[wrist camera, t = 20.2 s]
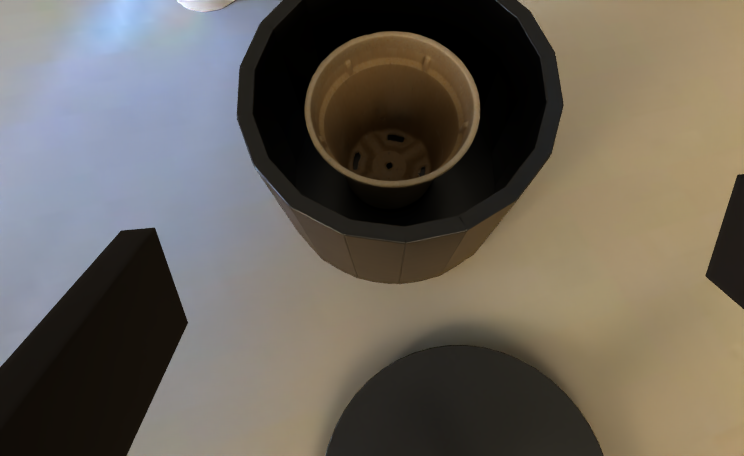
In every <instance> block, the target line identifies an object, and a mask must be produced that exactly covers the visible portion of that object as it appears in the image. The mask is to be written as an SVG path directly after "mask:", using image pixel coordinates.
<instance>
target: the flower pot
mask: <svg viewBox="0 0 744 456" xmlns="http://www.w3.org/2000/svg"><path fill="white" fill-rule="evenodd" d="M304 111H305V121H306V126H307V130H308V133H309V135H310V138H311V140H312V142H313V144H314V146H315V148H316V149H317V151H318V152H319V154H320V155H321V156H322V157H323V159H324V160H325V161H326V162H327V163H328V164H329V165H330V166H332V167H333V168H334V169H335V170H337V171H338V172H339V173H341V174H343V175H344V177H345V178H346V180H347V182H348V184H349V186H350V188H351V190H352V191H353V192H354V193H355V194H356V195H357V196H358V197H359V198H360V199H361V200H362V201H364V202H365V203H367V204H369V205H371V206H374V207H377V208H382V209H397V208H402V207H405V206H407V205H409V204H411V203H413V202H415V201H416V200H418V199H419V198H420V197H421V196H422V195H423V194H424V193H425V192H426V191H427V189H428V188H429V186H430V185H431V183H432V182H433V180H434V179H435V178H437V177H439V176H441V175H443V174H444V173H446V172H447V171H448V170H450V169H451V168H452V167H453V166H454V165H455V164H456V163H457V162H458V161H459V160H460V159H461V158H462V157H463V156H464V154H465V153H466V152H467V150H468V149H469V147H470V145H471V144H472V142H473V140H474V137H475V135H476V132H477V129H478V125H479V120H480V100H479V93H478V90H477V87H476V84H475V82H474V79H473V78H472V75H471V74H470V72H469V70H468V69H467V68H466V66H465V65H464V64H463V62H462V61H461V60H460V59H459V58H458V57H457V56H456V55H455V54H454V53H453V52H451V51H450V50H449V49H447V48H446V47H444V46H443V45H441V44H440V43H438V42H436V41H434V40H432V39H429V38H427V37H424V36H422V35H418V34H414V33H409V32H399V31H384V32H377V33H373V34H369V35H364V36H360V37H357V38H354V39H352V40H350V41H348V42H346V43H345V44H343V45H341V46H340V47H338V48H337V49H335V50H334V51H333V52H332V53H330V54H329V56H327V57H326V58H325V59H324V60H323V61H322V63H321V64H320V65H319V67H318V68H317V70H316V72H315V74H314V75H313V76H312V79H311V82H310V84H309V87H308V89H307V93H306V98H305V109H304ZM388 135H396V136H398V137H402V138H404V141H403V142H397V141H393V140H388V138H387V137H388ZM357 153H359V154H360V156H361V157H360V160H359V162H358V168H357V169H356V170H354V166H353V162H354V156H355V154H357ZM388 163H391V164H392V168H390V169H388V168H387V167H386V165H387V164H388ZM422 167H425V173H424V176H421V177H420V175H419V174H418V173H420V172H421V168H422Z"/></svg>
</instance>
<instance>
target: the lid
mask: <svg viewBox="0 0 744 456" xmlns="http://www.w3.org/2000/svg"><path fill="white" fill-rule="evenodd" d="M325 456H603V453H602V450H601V448H600V445H599V443H598V441H597V439H596V437H595V435H594V433H593V431H592V429H591V427H590V425H589V424H588V422H587V421H586V419H585V418H584V416H583V415H582V413H581V412H580V410H579V409H578V408H577V407H576V405H575V404H574V403H573V402H572V401H571V399H570V398H569V397H568V396H567V395H566V394H565V393H564V392H563V391H562V390H561V389H560V388H559V387H558V386H557V385H556V384H555V383H554V382H553V381H552V380H550V379H549V378H548V377H546V376H545V375H544V374H542V373H541V372H539V371H538V370H537V369H535V368H534V367H532V366H530V365H528V364H527V363H525V362H523V361H521V360H519V359H517V358H515V357H512V356H510V355H507V354H505V353H502V352H499V351H495V350H491V349H488V348H484V347H476V346H468V345H448V346H441V347H434V348H429V349H425V350H422V351H418V352H415V353H412V354H410V355H408V356H406V357H403V358H401V359H399V360H397V361H395V362H394V363H392V364H390V365H389V366H387V367H385V368H384V369H382V370H381V371H380V372H379V373H377V374H376V375H375V376H374V377H372V378H371V379H370V380H369V381H368V382H367V383H366V384H365V385H364V386H363V387H362V388H361V389H360V390H359V391H358V392H357V394H356V395H355V396H354V398H353V399H352V400H351V402H350V403H349V404H348V406H347V407H346V409H345V410H344V412H343V414H342V416H341V417H340V419H339V421H338V423H337V425H336V427H335V429H334V432H333V434H332V437H331V439H330V442H329V444H328V448H327V452H326V455H325Z"/></svg>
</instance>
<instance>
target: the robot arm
mask: <svg viewBox="0 0 744 456" xmlns="http://www.w3.org/2000/svg"><path fill="white" fill-rule="evenodd" d="M706 277H707V278H708V279H709V280H710V281H712V282H713V283H714V284H715V285H716V286H717V287H719V288H720V289H721V290H722V291H723V292H724V293H726V294H727V295H728V296H729V297H730V298H731V299H733V300H734V301H735V302H736V303H737V304H738V305H739V306H741V307H742V308H743V309H744V174H741V175H737V178H736V181H735V184H734V188H733V191H732V194H731V197H730V200H729V203H728V207H727V210H726V213H725V216H724V219H723V222H722V225H721V229H720V232H719V235H718V238H717V241H716V244H715V247H714V251H713V254H712V257H711V260H710V263H709V266H708V269H707V273H706ZM187 324H188V321H187V318H186V316H185V313H184V310H183V307H182V304H181V301H180V298H179V295H178V293H177V290H176V287H175V284H174V281H173V278H172V275H171V273H170V270H169V267H168V264H167V261H166V258H165V255H164V252H163V250H162V247H161V244H160V241H159V238H158V235H157V232H156V229H155V228H146V229H135V230H124V231H120V232H119V234H118V235H117V236H116V237H115V238H114V239H113V240H112V242H111V243H110V244H109V245H108V246H107V247H106V248H105V249H104V251H103V252H102V253H101V254H100V255H99V256H98V257H97V259H96V260H95V261H94V262H93V263H92V264H91V265H90V266H89V268H88V269H87V270H86V271H85V272H84V273H83V274H82V276H81V277H80V278H79V279H78V280H77V281H76V282H75V283H74V285H73V286H72V287H71V288H70V289H69V290H68V291H67V293H66V294H65V295H64V296H63V297H62V298H61V299H60V300H59V302H58V303H57V304H56V305H55V306H54V307H53V308H52V309H51V311H50V312H49V313H48V314H47V315H46V316H45V317H44V319H43V320H42V321H41V322H40V323H39V324H38V325H37V326H36V328H35V329H34V330H33V331H32V332H31V333H30V334H29V336H28V337H27V338H26V339H25V340H24V341H23V342H22V343H21V345H20V346H19V347H18V348H17V349H16V350H15V351H14V353H13V354H12V355H11V356H10V357H9V358H8V359H7V360H6V362H5V363H4V364H3V365H2V366H1V367H0V456H127V453H128V451H129V449H130V447H131V445H132V443H133V440H134V438H135V436H136V434H137V432H138V430H139V427H140V425H141V423H142V421H143V419H144V417H145V414H146V412H147V410H148V408H149V406H150V404H151V401H152V399H153V397H154V395H155V393H156V391H157V388H158V386H159V384H160V382H161V380H162V378H163V376H164V373H165V371H166V369H167V367H168V365H169V363H170V360H171V358H172V356H173V354H174V352H175V350H176V347H177V345H178V343H179V341H180V339H181V337H182V334H183V332H184V330H185V328H186V326H187Z"/></svg>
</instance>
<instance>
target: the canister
mask: <svg viewBox="0 0 744 456" xmlns="http://www.w3.org/2000/svg"><path fill="white" fill-rule="evenodd" d="M384 31H399V32H409V33H414V34H418V35H422V36H424V37H427V38H429V39H432V40H434V41H436V42H438V43H440V44H441V45H443V46H444V47H446V48H447V49H449V50H450V51H451V52H453V53H454V54H455V55H456V56H457V57H458V58H459V59H460V60H461V61H462V62H463V64H464V65H465V66H466V68H467V69H468V70H469V72H470V74H471V75H472V78H473V79H474V82H475V84H476V87H477V90H478V93H479V100H480V120H479V125H478V129H477V132H476V135H475V137H474V140H473V142H472V144H471V145H470V147H469V149H468V150H467V152H466V153H465V154H464V156H463V157H462V158H461V159H460V160H459V161H458V162H457V163H456V164H455V165H454V166H453V167H452V168H451V169H450V170H448V171H447V172H446V173H444V174H443V175H441V176H439V177H437V178H435V179H434V180H433V182H432V183H431V185H430V186H429V188H428V189H427V191H426V192H425V193H424V194H423V195H422V196H421V197H420V198H419V199H418V200H416V201H415V202H413V203H411V204H409V205H407V206H405V207H402V208H397V209H382V208H377V207H374V206H371V205H369V204H367V203H365V202H364V201H362V200H361V199H360V198H359V197H358V196H357V195H356V194H355V193H354V192H353V191H352V190H351V188H350V186H349V184H348V182H347V180H346V178H345V177H344V175H343V174H341V173H339V172H338V171H337V170H335V169H334V168H333V167H332V166H330V165H329V164H328V163H327V162H326V161H325V160H324V159H323V157H322V156H321V155H320V154H319V152H318V151H317V149H316V148H315V146H314V144H313V142H312V140H311V138H310V135H309V133H308V130H307V126H306V121H305V111H304V109H305V98H306V93H307V89H308V87H309V84H310V82H311V79H312V76H313V75H314V74H315V72H316V70H317V68H318V67H319V65H320V64H321V63H322V61H323V60H324V59H325V58H326V57H327V56H329V54H330V53H332V52H333V51H334V50H335V49H337V48H338V47H340V46H341V45H343V44H345V43H346V42H348V41H350V40H352V39H354V38H357V37H360V36H364V35H369V34H373V33H377V32H384ZM563 106H564V105H563V98H562V92H561V86H560V79H559V73H558V67H557V61H556V56H555V52H554V50H553V48H552V47H551V45H550V43H549V42H548V40H547V38H546V37H545V35H544V33H543V32H542V30H541V28H540V27H539V25H538V23H537V22H536V20H535V18H534V17H533V15H532V13H531V12H530V11H529V10H528V9H527V8H526V7H525V6H523V5H522V4H521V3H520V2H518V1H517V0H283V1H282V2H281V3H280V4H279V5H278V6H277V7H276V8H275V9H274V10H273V11H272V12H271V13H270V14H269V15H268V16H267V17H266V18H265V19H264V20H263V21H262V22H261V24H260V25H259V27H258V29H257V31H256V33H255V35H254V38H253V40H252V42H251V44H250V46H249V48H248V50H247V53H246V55H245V57H244V59H243V61H242V63H241V65H240V70H239V87H238V104H237V120H238V123H239V126H240V129H241V132H242V134H243V137H244V140H245V143H246V146H247V149H248V152H249V154H250V157H251V160H252V163H253V165H254V167H255V169H256V170H257V172H258V173H259V175H260V176H261V178H262V179H263V181H264V182H265V184H266V185H267V187H268V188H269V190H270V191H271V193H272V194H273V196H274V197H275V199H276V200H277V202H278V203H279V205H280V206H281V207H282V209H283V210H284V212H285V213H286V215H287V216H288V218H289V219H290V221H291V222H292V224H293V225H294V227H295V228H296V230H297V231H298V232H299V234H300V235H301V236H302V237H303V238H304V239H305V240H306V242H307V243H308V244H309V245H310V247H311V248H312V249H313V250H314V251H315V252H316V253H317V254H318V255H319V256H320V257H321V259H323V260H324V261H326V262H328V263H330V264H331V265H332V266H334V267H336V268H338V269H340V270H341V271H343V272H345V273H347V274H350V275H352V276H354V277H356V278H359V279H364V280H368V281H372V282H379V283H387V284H404V283H411V282H418V281H422V280H426V279H429V278H433V277H437V276H439V275H442V274H444V273H445V272H447V271H449V270H451V269H452V268H454V267H456V266H457V265H459V264H460V263H462V262H463V261H464V260H466V259H467V258H469V257H471V256H472V255H474V253H475V252H476V251H477V250H478V249H479V247H480V246H481V245H482V244H483V242H484V241H485V240H486V239H487V237H488V236H489V235H490V234H491V232H492V231H493V230H494V229H495V227H496V226H497V225H498V224H499V222H500V221H501V220H502V219H503V217H504V216H505V215H506V214H507V213H508V211H509V210H510V209H511V208H512V206H513V205H514V204H515V203H516V201H517V200H518V199H519V197H520V196H521V195H522V193H523V192H524V191H525V189H526V188H527V187H528V185H529V184H530V183H531V181H532V180H533V179H534V177H535V176H536V175H537V173H538V172H539V171H540V169H541V168H542V167H543V165H544V164H545V163H546V161H547V160H548V159H549V157H550V155H551V154H552V150H553V146H554V142H555V138H556V134H557V130H558V126H559V122H560V118H561V114H562V110H563ZM387 138H388V140H393V141H397V142H403V141H404V138H402V137H398V136H396V135H388V137H387ZM360 157H361V156H360V154H359V153H357V154H355V156H354V162H353V166H354V170H356V169H357V168H358V162H359V160H360ZM386 167H387V168H388V169H390V168H392V164H391V163H388V164H387V165H386ZM424 173H425V167H422V168H421V172H420V173H418V174H419V175H420V177H421V176H424Z"/></svg>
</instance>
